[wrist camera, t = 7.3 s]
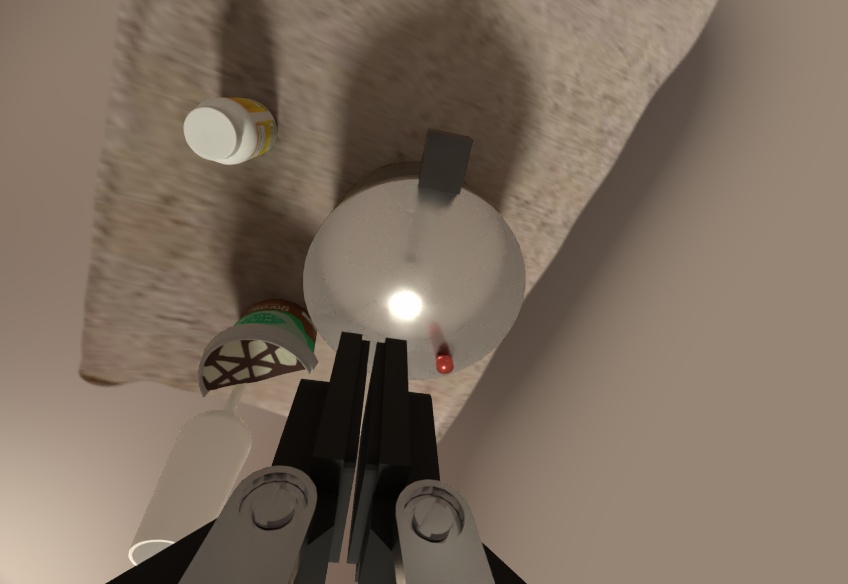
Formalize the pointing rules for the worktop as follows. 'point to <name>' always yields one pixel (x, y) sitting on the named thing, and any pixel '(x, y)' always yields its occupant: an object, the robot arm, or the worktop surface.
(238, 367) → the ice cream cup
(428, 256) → the cooker lid
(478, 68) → the worktop surface
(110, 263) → the worktop surface
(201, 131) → the supplement bottle
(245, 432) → the champagne flute
